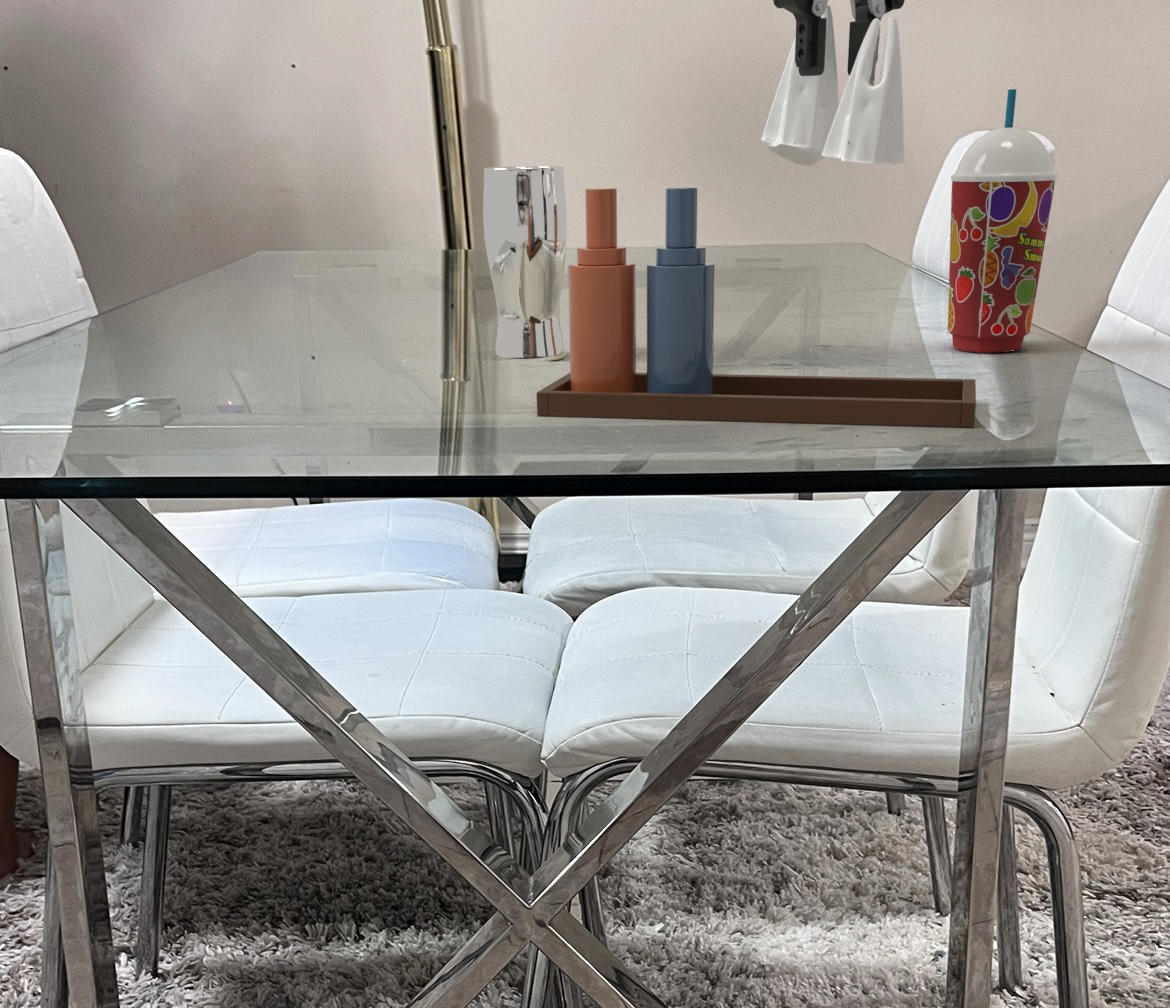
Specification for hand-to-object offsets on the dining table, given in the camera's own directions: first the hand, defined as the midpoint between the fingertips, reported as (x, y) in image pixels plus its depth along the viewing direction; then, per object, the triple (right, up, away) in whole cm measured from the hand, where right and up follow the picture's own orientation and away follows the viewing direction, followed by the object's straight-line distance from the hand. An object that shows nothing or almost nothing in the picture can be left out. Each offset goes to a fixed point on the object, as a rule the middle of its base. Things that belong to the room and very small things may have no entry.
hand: (836, 74), depth 105 cm
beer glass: (-24, -17, +15) cm, 33 cm away
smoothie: (+16, -16, +15) cm, 27 cm away
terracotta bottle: (-18, -28, -11) cm, 35 cm away
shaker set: (0, -6, +3) cm, 6 cm away
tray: (-8, -29, -13) cm, 33 cm away
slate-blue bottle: (-13, -28, -12) cm, 33 cm away
